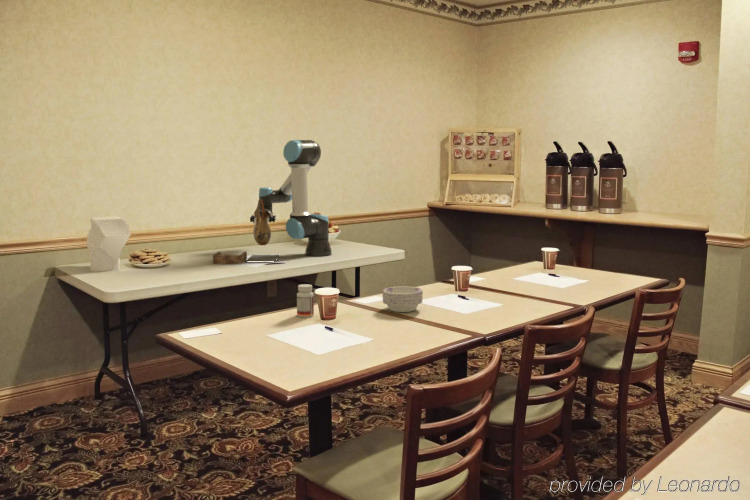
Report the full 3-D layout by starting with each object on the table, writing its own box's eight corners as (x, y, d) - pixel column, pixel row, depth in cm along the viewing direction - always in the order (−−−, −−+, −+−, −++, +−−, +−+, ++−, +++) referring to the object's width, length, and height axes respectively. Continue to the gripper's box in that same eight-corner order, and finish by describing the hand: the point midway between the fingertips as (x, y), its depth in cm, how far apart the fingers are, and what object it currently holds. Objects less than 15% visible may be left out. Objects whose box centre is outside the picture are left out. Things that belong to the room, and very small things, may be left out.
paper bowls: (381, 305, 266) (381, 285, 265) (419, 305, 267) (420, 285, 266) (383, 314, 251) (383, 293, 250) (424, 314, 252) (425, 293, 251)
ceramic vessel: (276, 245, 365) (274, 199, 361) (260, 247, 361) (258, 200, 357) (265, 242, 379) (263, 197, 375) (249, 243, 375) (247, 198, 371)
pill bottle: (306, 312, 254) (305, 283, 252) (317, 315, 249) (317, 285, 248) (293, 315, 249) (293, 285, 247) (304, 318, 245) (304, 287, 243)
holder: (247, 259, 370) (246, 251, 369) (242, 263, 357) (242, 255, 357) (218, 259, 370) (218, 251, 369) (213, 263, 357) (212, 255, 357)
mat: (279, 257, 380) (279, 254, 380) (274, 262, 362) (274, 260, 362) (252, 256, 380) (252, 254, 380) (246, 262, 362) (246, 260, 362)
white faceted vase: (87, 273, 328) (84, 220, 324) (87, 264, 352) (84, 215, 349) (133, 270, 336) (130, 219, 332) (130, 262, 361) (127, 214, 357)
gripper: (281, 223, 387) (279, 228, 364) (247, 222, 385) (243, 228, 363) (281, 209, 386) (279, 214, 363) (247, 209, 384) (243, 214, 361)
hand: (261, 221), depth 363 cm, fingers closed on ceramic vessel, 6 cm apart
